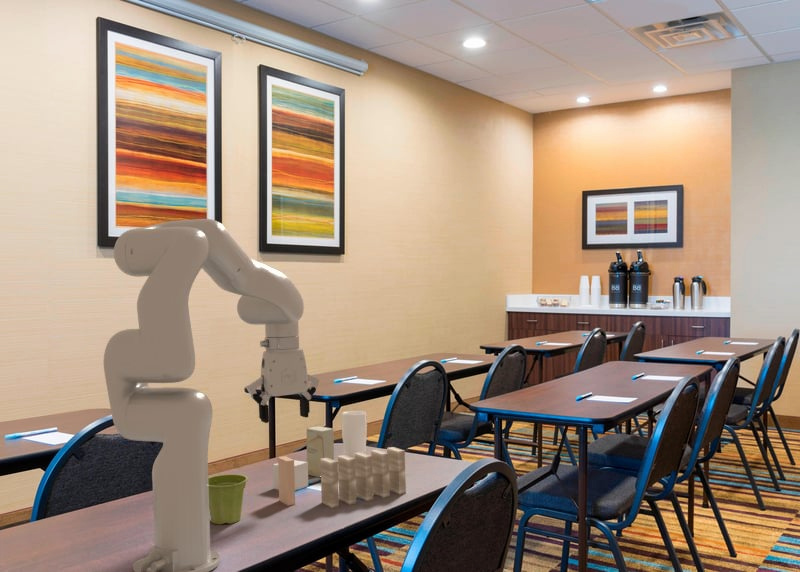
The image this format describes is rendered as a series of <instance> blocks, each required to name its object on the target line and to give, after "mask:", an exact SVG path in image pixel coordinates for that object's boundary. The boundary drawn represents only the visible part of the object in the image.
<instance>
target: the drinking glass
mask: <svg viewBox="0 0 800 572" xmlns="http://www.w3.org/2000/svg"><path fill="white" fill-rule="evenodd" d="M340 416H341V418H340V419H341V421H340V422H341V424H340V425H341V435H342V445H343V455H347V456H349V457H352V458H355V453H359V452H362V453H365V454H366V452H367V451H366V449H367V447H366V446H367V433H368V432H367V431H368V430H367V429H368V428H367V427H368V423H367V421H368V420H367V419H368V418H367V412H366V411H364V410H348V411H343V412H341V414H340Z"/></svg>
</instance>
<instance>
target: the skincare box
mask: <svg viewBox="0 0 800 572" xmlns="http://www.w3.org/2000/svg"><path fill="white" fill-rule="evenodd" d="M334 433H335V431H334V428H332V427H325V426H319V425H317V426H312V427H307V428H306V462H308V476H313V477H316V478H320V476H321V460H320V459H322V458H330V459H332V460H335V459H334V457H335V454H334V453H335V452H334V451H335V450H334V449H335V448H334V446H335V445H334V444H335V443H334V441H335V440H334V438H335V435H334Z"/></svg>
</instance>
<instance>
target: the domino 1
mask: <svg viewBox="0 0 800 572" xmlns="http://www.w3.org/2000/svg"><path fill="white" fill-rule="evenodd" d="M294 460H295V459H293V458H290V457H288V456H286V455H283V456H279V457H277V463H278V476H279V490H278V501H279V502H281V503H283V504H284V505H286V506H289V507H290V506H293V505H296V491H295V475H294Z"/></svg>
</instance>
